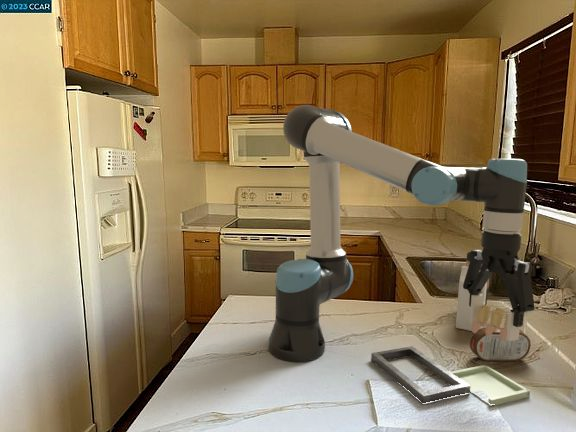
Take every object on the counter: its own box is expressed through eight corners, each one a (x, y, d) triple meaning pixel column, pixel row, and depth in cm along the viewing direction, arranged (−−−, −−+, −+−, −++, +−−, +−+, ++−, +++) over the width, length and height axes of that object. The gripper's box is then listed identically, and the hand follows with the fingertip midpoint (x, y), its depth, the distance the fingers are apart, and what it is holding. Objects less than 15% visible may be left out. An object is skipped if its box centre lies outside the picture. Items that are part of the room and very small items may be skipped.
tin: (523, 356, 106) (526, 326, 104) (531, 362, 102) (534, 331, 101) (467, 356, 105) (470, 326, 104) (473, 362, 102) (476, 331, 101)
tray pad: (491, 406, 83) (491, 400, 83) (449, 377, 94) (449, 371, 94) (529, 396, 87) (529, 390, 87) (484, 370, 98) (485, 364, 98)
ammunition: (484, 302, 94) (470, 312, 88) (519, 310, 89) (507, 321, 83) (482, 322, 94) (469, 332, 89) (517, 331, 89) (506, 343, 84)
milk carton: (459, 320, 129) (463, 263, 127) (483, 325, 126) (488, 267, 123) (455, 328, 123) (460, 268, 121) (481, 333, 120) (486, 272, 117)
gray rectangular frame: (423, 405, 83) (423, 396, 83) (371, 360, 102) (371, 353, 101) (469, 394, 88) (470, 385, 87) (411, 353, 106) (412, 346, 106)
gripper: (564, 239, 77) (552, 349, 80) (475, 223, 97) (468, 311, 100) (536, 241, 74) (524, 355, 77) (450, 224, 95) (444, 314, 98)
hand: (492, 330), depth 89 cm, fingers closed on ammunition, 9 cm apart
